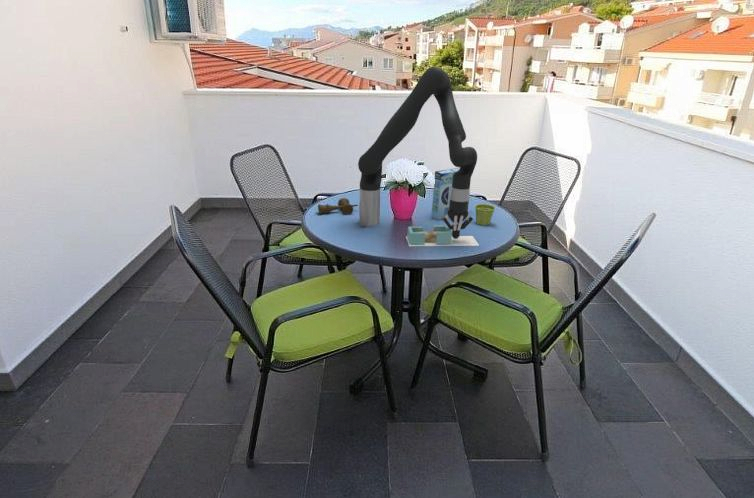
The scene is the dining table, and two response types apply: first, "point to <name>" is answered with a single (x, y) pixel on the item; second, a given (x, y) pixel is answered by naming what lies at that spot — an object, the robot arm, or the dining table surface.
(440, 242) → the cap
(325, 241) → the dining table surface
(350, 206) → the kendama
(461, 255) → the dining table surface
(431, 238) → the slat
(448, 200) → the gum box
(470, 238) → the board
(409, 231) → the cap
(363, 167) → the robot arm
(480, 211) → the plant pot
